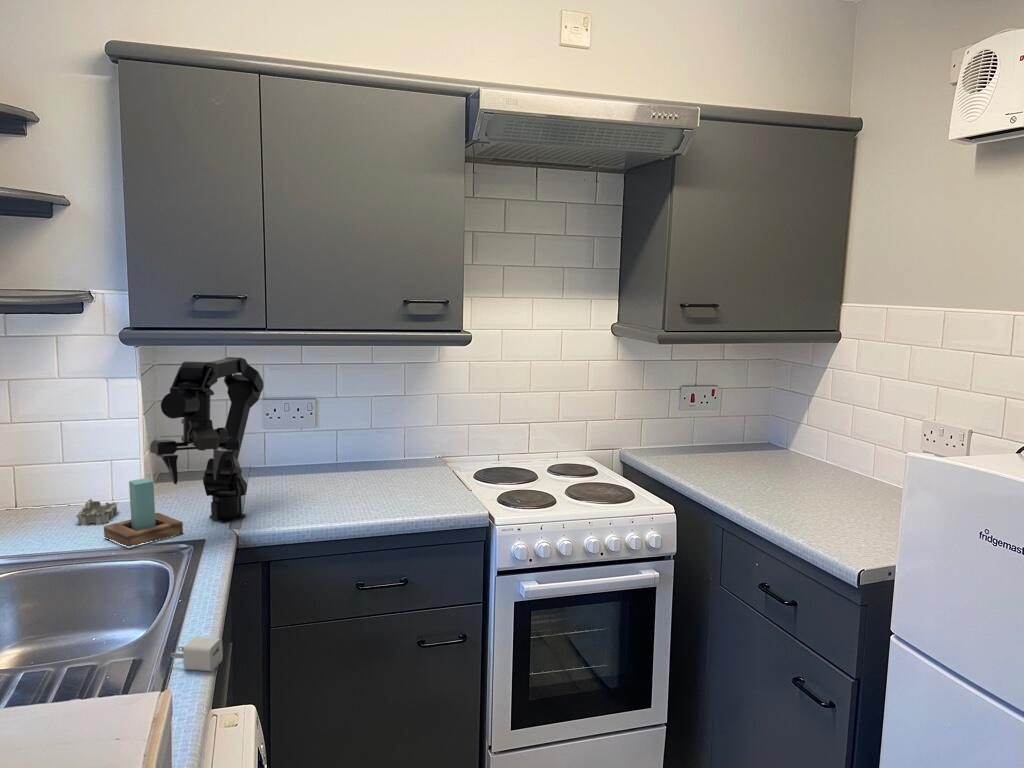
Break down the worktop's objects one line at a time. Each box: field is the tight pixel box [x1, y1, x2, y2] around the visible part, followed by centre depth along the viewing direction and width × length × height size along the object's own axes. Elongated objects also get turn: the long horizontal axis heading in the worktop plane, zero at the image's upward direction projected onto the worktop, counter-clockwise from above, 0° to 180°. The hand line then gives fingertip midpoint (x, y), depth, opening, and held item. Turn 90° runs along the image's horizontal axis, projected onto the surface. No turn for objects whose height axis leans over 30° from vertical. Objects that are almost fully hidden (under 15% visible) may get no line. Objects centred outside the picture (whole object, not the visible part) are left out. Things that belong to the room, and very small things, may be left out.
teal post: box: [128, 477, 156, 531], centre depth 172 cm, size 4×4×13 cm
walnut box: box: [103, 512, 184, 546], centre depth 173 cm, size 13×11×3 cm
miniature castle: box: [75, 498, 119, 526], centre depth 185 cm, size 11×8×4 cm
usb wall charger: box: [170, 636, 224, 672], centre depth 117 cm, size 4×7×4 cm, turn 85°
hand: (196, 482), depth 171 cm, fingers open, 9 cm apart
